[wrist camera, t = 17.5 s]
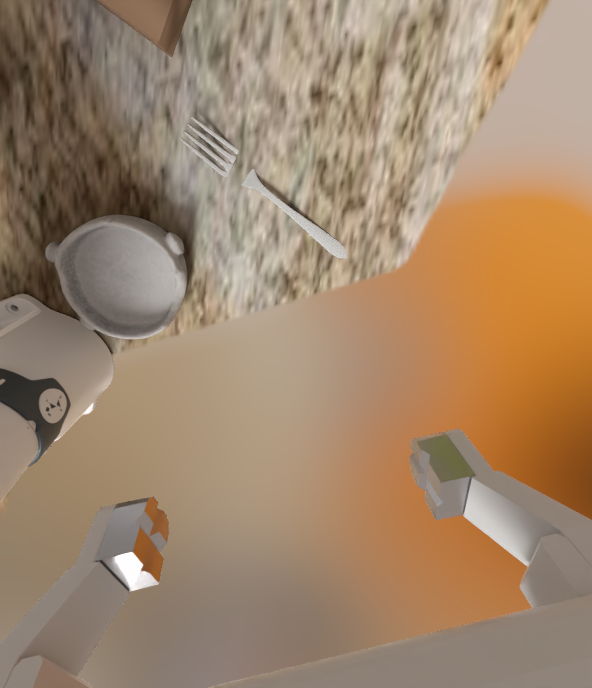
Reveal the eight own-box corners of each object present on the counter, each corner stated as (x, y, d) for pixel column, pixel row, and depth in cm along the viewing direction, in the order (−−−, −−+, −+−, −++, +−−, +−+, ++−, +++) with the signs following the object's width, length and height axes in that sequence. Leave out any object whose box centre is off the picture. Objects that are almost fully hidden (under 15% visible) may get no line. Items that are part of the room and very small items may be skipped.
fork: (352, 278, 42) (356, 283, 40) (181, 143, 33) (176, 142, 32) (370, 258, 41) (374, 262, 39) (196, 113, 32) (192, 111, 31)
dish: (187, 214, 37) (176, 222, 32) (198, 324, 43) (190, 343, 39) (52, 207, 35) (21, 214, 31) (85, 321, 42) (64, 340, 38)
